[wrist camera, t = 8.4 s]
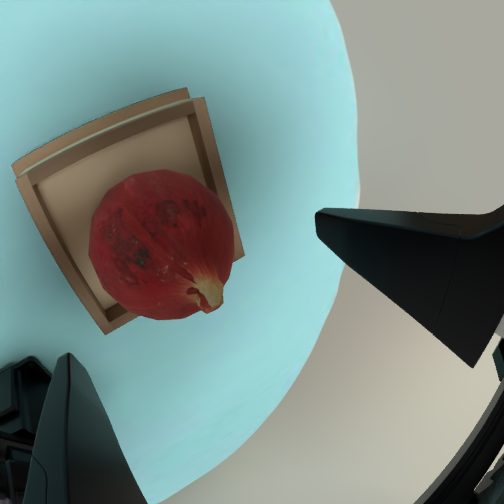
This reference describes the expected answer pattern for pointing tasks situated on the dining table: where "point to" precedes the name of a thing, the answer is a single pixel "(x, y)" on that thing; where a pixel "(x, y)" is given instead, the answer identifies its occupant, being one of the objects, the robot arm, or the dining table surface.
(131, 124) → the pedestal
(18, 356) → the dining table surface
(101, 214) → the pomegranate
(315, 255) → the dining table surface
